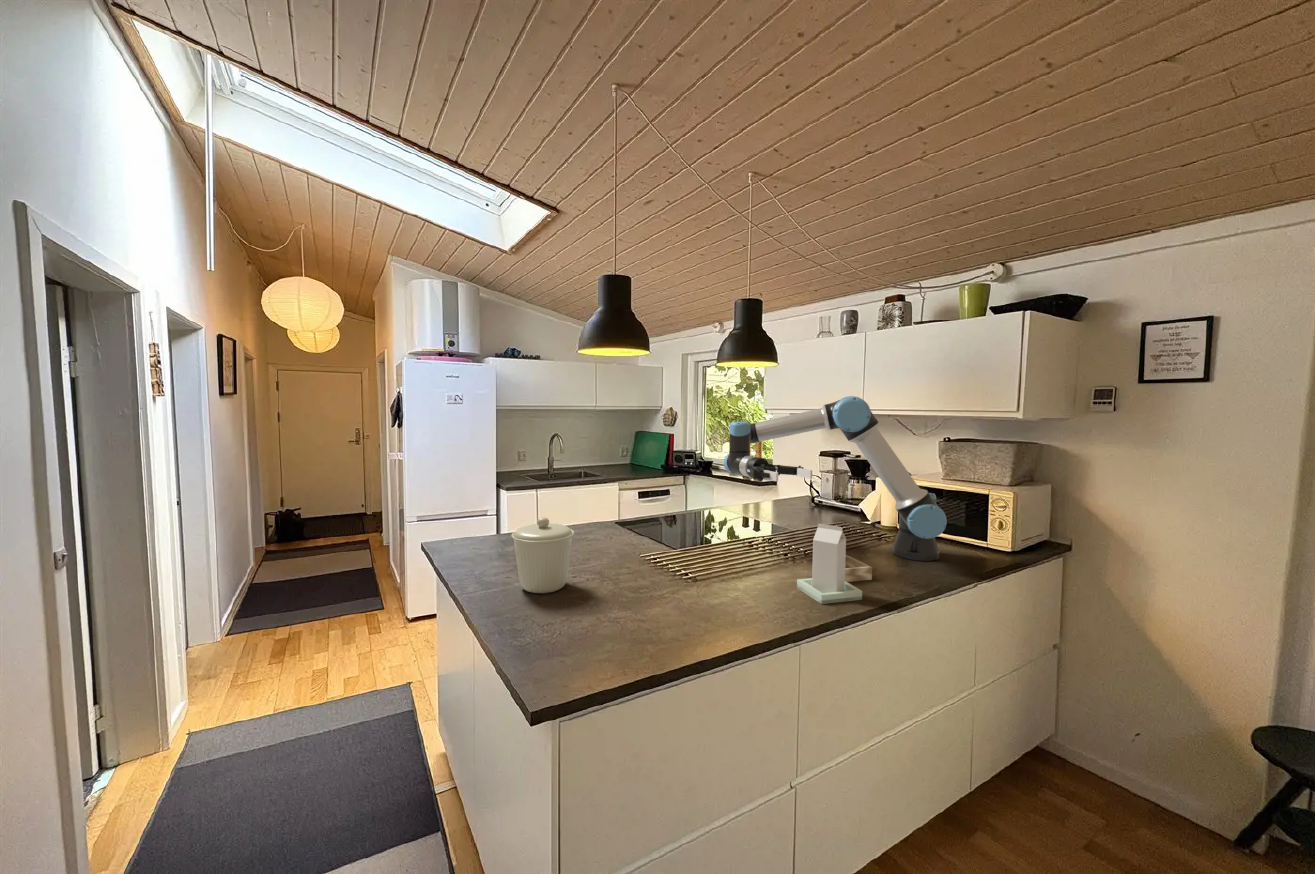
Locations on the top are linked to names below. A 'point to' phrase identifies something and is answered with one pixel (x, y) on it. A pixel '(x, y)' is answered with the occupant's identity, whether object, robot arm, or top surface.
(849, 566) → the holder
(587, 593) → the top surface
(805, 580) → the tray
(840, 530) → the milk carton
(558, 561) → the canister
